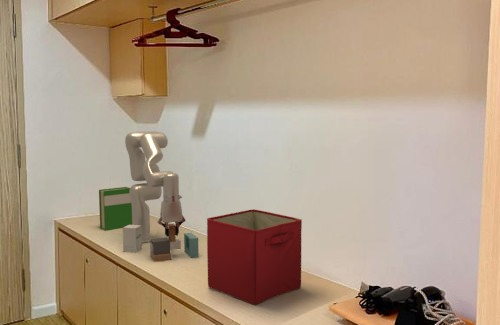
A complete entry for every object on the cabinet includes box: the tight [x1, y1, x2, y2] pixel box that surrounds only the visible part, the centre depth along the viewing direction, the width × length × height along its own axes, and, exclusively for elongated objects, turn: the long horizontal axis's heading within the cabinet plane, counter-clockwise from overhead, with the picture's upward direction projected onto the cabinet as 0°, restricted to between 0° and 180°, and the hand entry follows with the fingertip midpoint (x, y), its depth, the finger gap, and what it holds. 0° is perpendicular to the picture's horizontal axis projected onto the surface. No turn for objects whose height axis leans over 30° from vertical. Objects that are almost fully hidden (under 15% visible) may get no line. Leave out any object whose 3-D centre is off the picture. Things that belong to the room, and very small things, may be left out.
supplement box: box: [122, 225, 143, 253], centre depth 265 cm, size 7×7×13 cm
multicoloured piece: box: [149, 223, 182, 252], centre depth 251 cm, size 4×14×12 cm, turn 113°
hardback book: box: [98, 186, 132, 232], centre depth 316 cm, size 18×7×24 cm, turn 130°
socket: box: [183, 232, 199, 259], centre depth 257 cm, size 12×4×10 cm, turn 23°
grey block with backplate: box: [149, 236, 172, 263], centre depth 251 cm, size 10×8×9 cm
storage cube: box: [206, 208, 303, 306], centre depth 207 cm, size 32×28×29 cm
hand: (171, 235), depth 252 cm, fingers open, 3 cm apart
